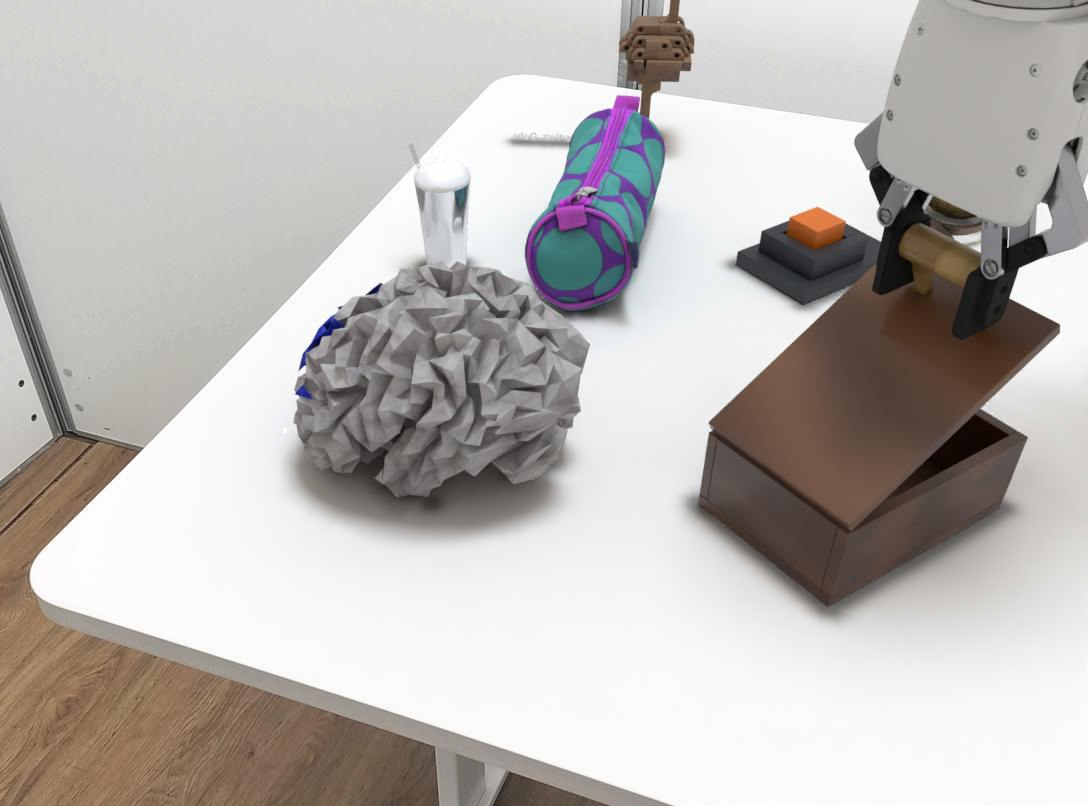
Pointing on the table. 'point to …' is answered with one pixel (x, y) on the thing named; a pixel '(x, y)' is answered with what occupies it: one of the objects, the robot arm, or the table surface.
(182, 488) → the table surface
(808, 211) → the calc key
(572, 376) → the educational model
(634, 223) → the pencil case
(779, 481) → the brown wooden case body
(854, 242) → the push button base
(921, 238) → the case lid
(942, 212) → the vintage brass clock
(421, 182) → the milkshake
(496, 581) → the table surface
